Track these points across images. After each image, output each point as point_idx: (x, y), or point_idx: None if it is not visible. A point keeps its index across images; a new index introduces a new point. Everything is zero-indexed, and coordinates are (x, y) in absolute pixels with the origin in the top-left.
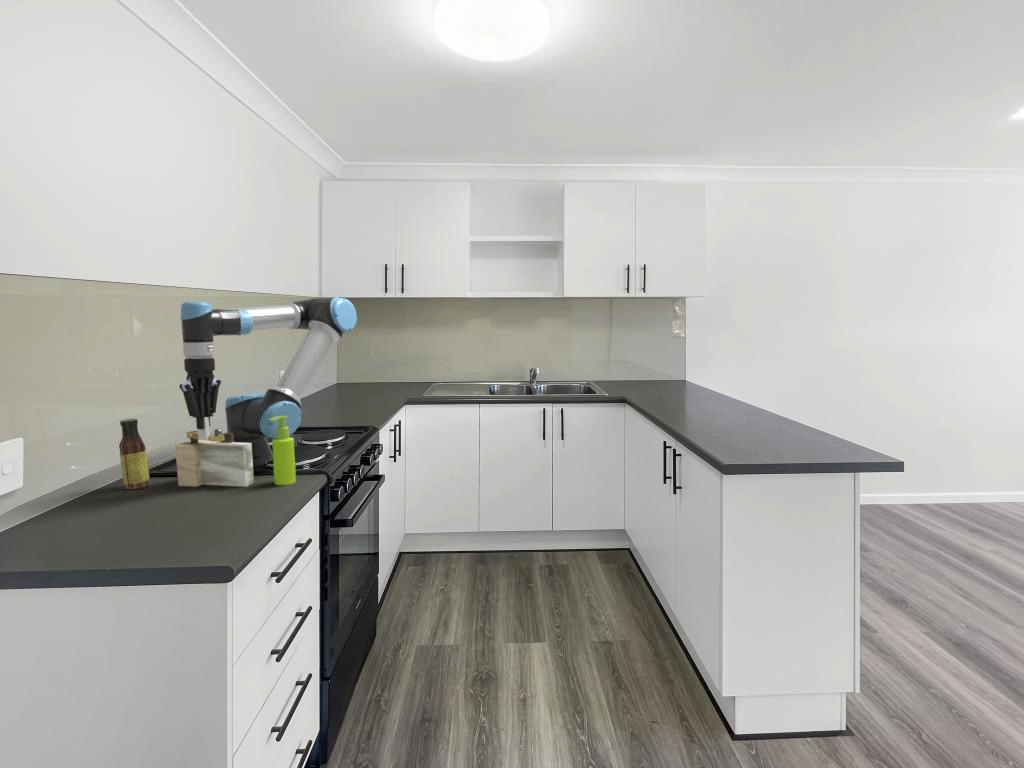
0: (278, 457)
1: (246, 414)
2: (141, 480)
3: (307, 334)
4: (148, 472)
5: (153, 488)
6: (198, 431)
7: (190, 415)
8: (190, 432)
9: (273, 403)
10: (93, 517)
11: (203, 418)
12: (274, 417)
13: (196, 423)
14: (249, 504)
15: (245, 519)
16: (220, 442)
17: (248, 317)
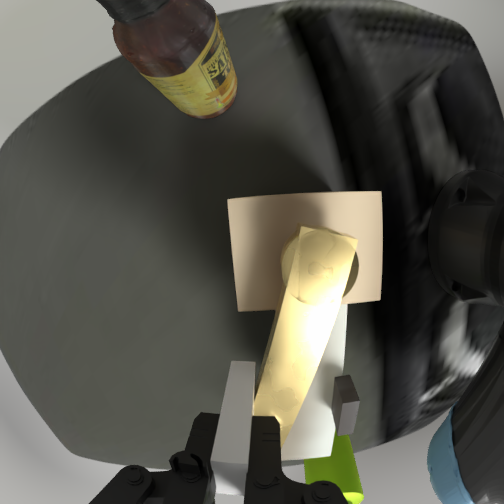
0: (305, 476)
1: None
2: (188, 113)
3: None
4: (219, 100)
5: (208, 144)
6: (225, 391)
7: (125, 473)
8: (301, 261)
9: (489, 498)
10: (42, 207)
11: (216, 482)
12: None
13: (188, 438)
14: (185, 430)
15: (136, 443)
16: (331, 371)
17: None
